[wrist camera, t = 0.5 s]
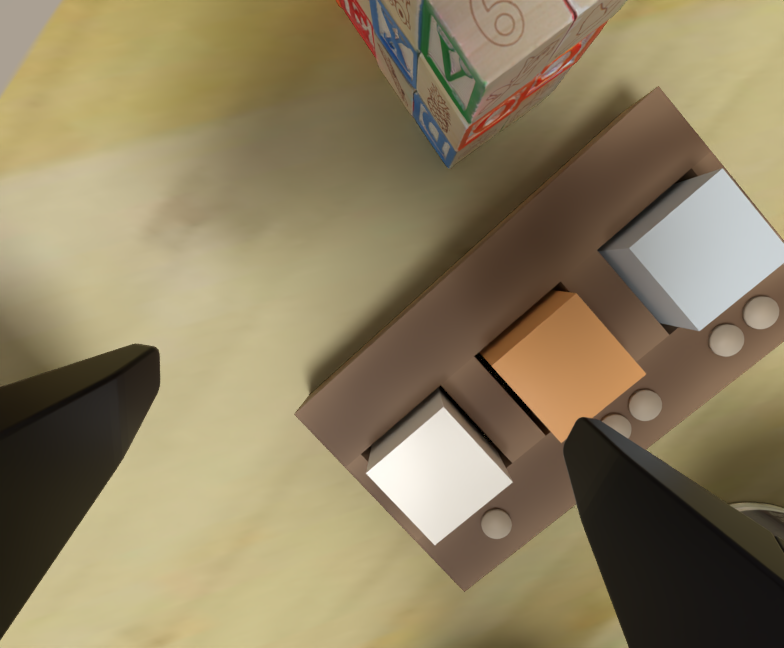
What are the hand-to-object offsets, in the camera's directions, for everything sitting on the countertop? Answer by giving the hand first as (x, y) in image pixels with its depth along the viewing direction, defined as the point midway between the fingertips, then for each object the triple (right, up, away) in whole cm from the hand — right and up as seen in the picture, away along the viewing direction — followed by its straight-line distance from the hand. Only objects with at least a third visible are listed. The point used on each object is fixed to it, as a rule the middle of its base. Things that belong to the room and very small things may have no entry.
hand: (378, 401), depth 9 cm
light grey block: (+13, +5, +10) cm, 17 cm away
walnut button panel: (+8, 0, +13) cm, 15 cm away
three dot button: (+8, 0, +11) cm, 13 cm away
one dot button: (+2, -5, +12) cm, 13 cm away
